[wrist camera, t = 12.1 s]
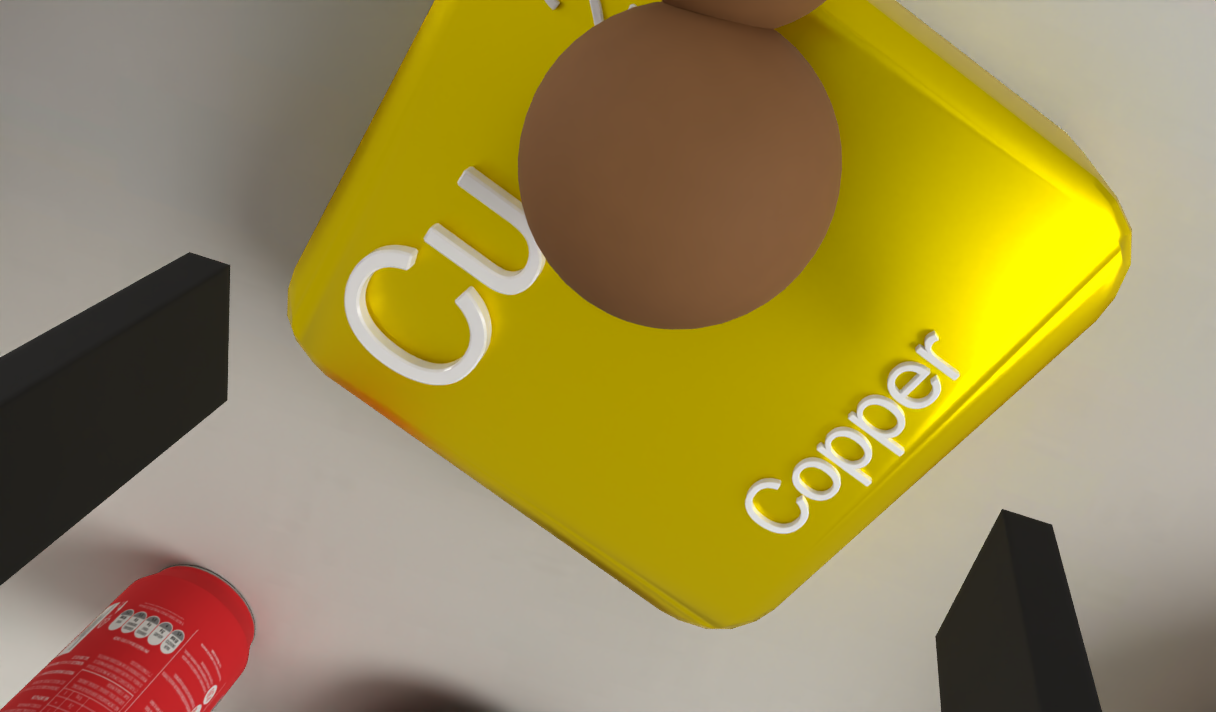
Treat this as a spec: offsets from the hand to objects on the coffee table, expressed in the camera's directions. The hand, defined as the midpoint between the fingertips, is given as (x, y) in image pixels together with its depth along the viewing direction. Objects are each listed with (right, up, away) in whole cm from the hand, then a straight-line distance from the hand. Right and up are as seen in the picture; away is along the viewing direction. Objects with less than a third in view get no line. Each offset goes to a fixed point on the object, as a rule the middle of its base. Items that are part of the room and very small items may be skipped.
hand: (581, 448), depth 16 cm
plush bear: (+1, +2, +2) cm, 3 cm away
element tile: (+3, +5, +10) cm, 11 cm away
